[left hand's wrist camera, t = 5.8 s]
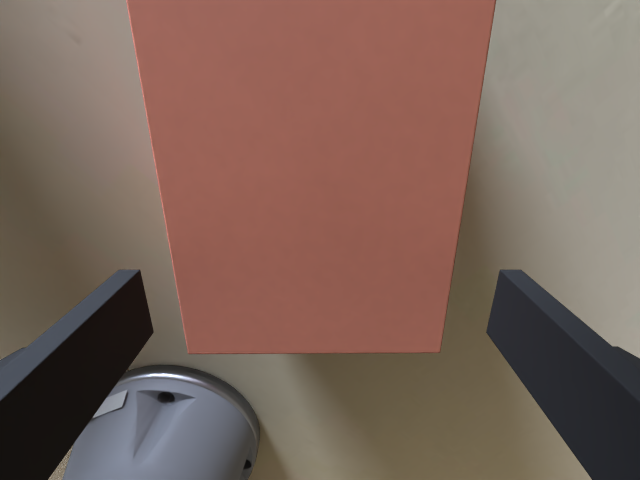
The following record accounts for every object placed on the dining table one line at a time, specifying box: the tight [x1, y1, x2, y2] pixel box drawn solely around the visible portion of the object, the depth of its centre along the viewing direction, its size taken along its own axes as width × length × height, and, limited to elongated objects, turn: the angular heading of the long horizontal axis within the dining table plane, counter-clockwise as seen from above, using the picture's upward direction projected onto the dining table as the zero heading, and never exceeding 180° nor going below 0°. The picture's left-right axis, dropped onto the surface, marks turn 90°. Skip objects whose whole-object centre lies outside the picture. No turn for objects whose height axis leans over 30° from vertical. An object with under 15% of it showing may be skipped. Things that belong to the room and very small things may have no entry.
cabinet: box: [126, 0, 496, 354], centre depth 17 cm, size 17×12×11 cm, turn 0°
